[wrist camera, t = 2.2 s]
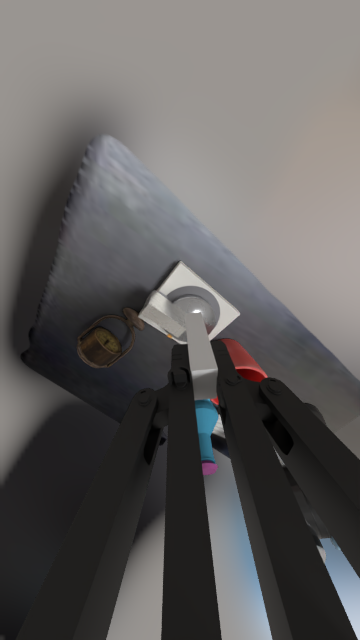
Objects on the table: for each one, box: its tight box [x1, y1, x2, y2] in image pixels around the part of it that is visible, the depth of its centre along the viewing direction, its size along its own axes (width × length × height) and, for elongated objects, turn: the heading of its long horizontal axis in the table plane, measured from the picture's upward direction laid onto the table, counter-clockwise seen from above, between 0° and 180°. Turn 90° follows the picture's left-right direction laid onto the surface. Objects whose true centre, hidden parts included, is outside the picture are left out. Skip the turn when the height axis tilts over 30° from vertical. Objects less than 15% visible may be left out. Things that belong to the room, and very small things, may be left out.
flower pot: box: [210, 339, 268, 405], centre depth 32 cm, size 11×11×10 cm
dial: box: [141, 290, 216, 342], centre depth 25 cm, size 12×8×7 cm
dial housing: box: [138, 260, 240, 344], centre depth 29 cm, size 14×12×2 cm
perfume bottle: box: [195, 399, 218, 475], centre depth 39 cm, size 9×9×15 cm
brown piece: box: [77, 308, 144, 368], centre depth 29 cm, size 7×13×10 cm
